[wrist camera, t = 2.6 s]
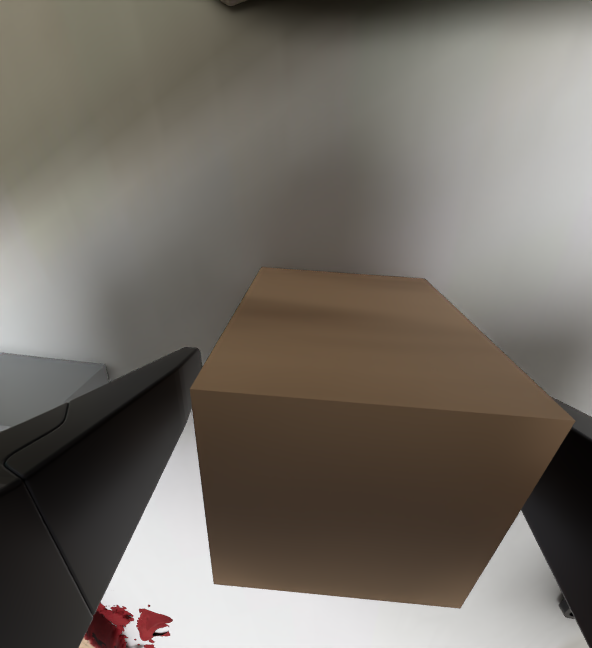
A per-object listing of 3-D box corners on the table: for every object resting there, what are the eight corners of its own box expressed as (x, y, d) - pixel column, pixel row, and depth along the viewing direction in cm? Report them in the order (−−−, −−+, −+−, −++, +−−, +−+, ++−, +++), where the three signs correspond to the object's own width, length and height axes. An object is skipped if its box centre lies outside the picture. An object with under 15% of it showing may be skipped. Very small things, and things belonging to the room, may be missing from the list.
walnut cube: (391, 405, 11) (460, 608, 6) (260, 394, 12) (214, 584, 6) (424, 278, 9) (575, 420, 4) (261, 266, 9) (190, 389, 4)
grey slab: (135, 481, 15) (86, 564, 12) (-8, 464, 15) (-95, 543, 12) (109, 360, 12) (33, 429, 8) (-71, 339, 12) (-213, 400, 9)
